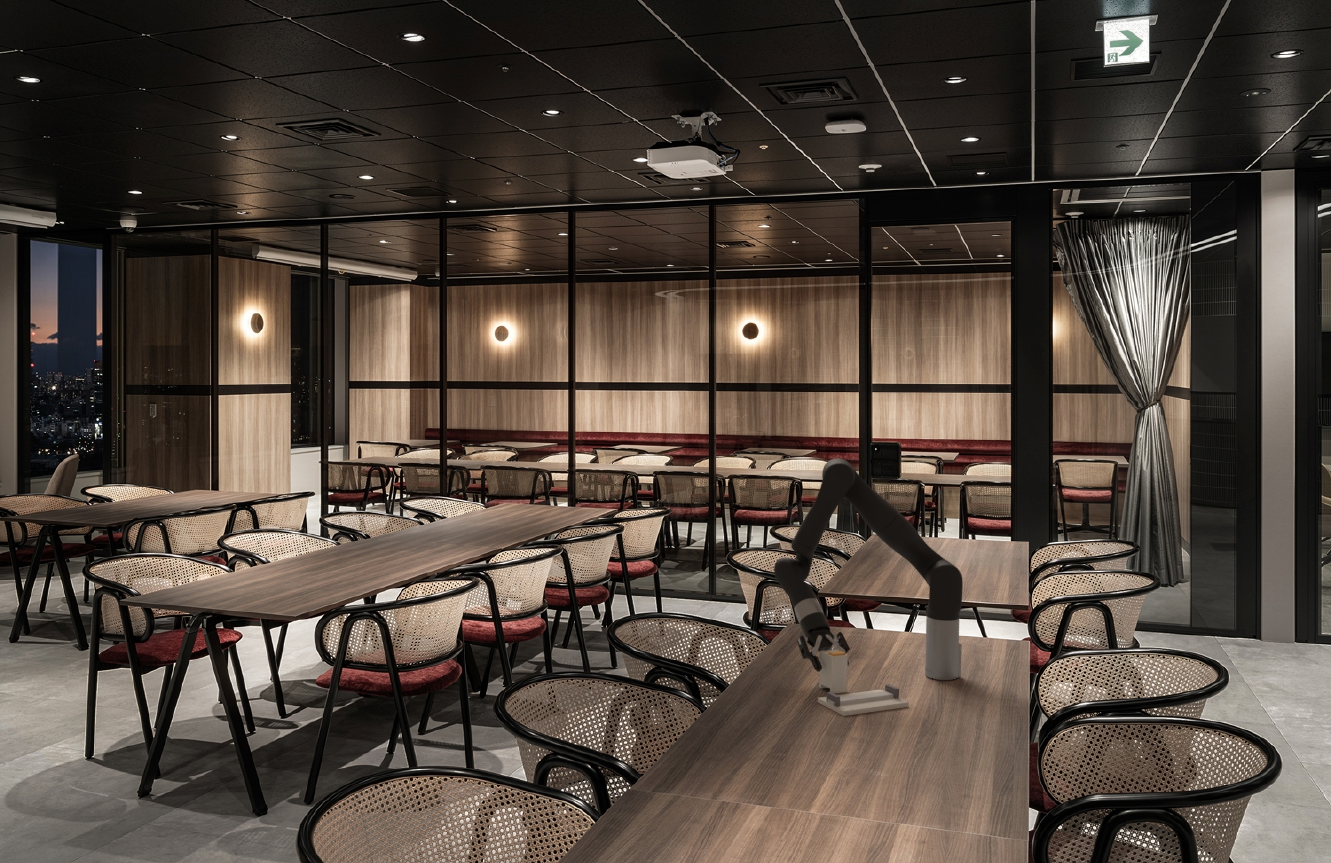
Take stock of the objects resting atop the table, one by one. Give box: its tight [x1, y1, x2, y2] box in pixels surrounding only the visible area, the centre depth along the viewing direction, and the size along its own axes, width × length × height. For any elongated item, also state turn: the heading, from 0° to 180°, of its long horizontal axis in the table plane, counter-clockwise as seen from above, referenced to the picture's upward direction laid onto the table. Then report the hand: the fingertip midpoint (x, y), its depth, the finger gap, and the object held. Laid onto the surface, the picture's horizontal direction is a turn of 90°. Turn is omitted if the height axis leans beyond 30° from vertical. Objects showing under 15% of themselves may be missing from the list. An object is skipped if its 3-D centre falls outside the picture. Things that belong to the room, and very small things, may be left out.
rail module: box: [818, 650, 849, 694], centre depth 277 cm, size 5×6×11 cm
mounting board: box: [817, 683, 910, 717], centre depth 264 cm, size 20×12×4 cm, turn 114°
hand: (833, 668), depth 277 cm, fingers open, 8 cm apart
